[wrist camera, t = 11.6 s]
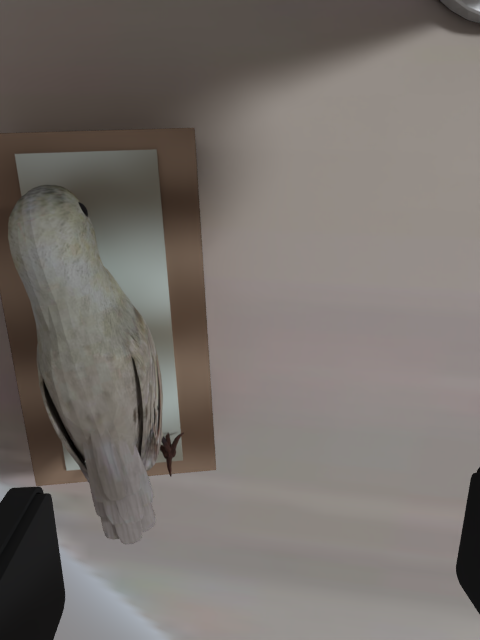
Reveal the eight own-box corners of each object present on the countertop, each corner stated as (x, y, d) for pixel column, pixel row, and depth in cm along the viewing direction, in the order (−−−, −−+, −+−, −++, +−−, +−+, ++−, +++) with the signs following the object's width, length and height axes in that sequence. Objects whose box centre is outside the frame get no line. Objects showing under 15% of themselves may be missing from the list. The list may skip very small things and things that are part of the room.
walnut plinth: (5, 145, 25) (-32, 133, 21) (194, 139, 26) (194, 127, 22) (56, 450, 30) (35, 488, 26) (214, 437, 31) (216, 471, 27)
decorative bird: (111, 175, 22) (69, 160, 15) (194, 443, 27) (192, 531, 19) (8, 201, 22) (-84, 198, 15) (109, 466, 26) (75, 564, 19)
